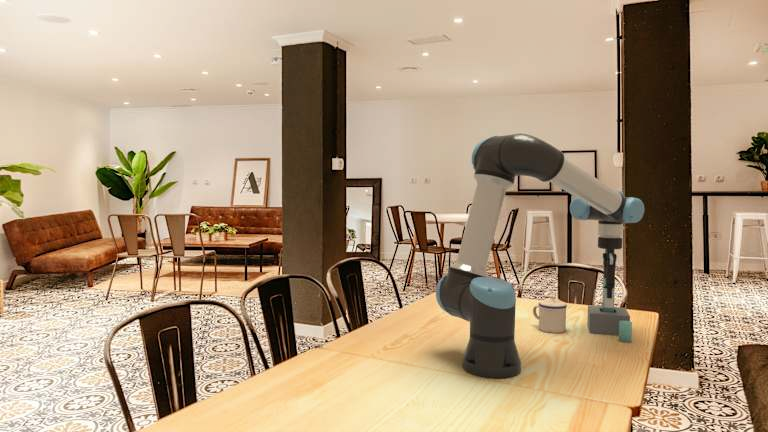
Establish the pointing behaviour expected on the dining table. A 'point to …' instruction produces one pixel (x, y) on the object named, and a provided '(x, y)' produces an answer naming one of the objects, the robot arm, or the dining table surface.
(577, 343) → the dining table surface
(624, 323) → the short pin
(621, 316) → the hole block
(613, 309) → the long pin
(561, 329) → the teacup with lid
